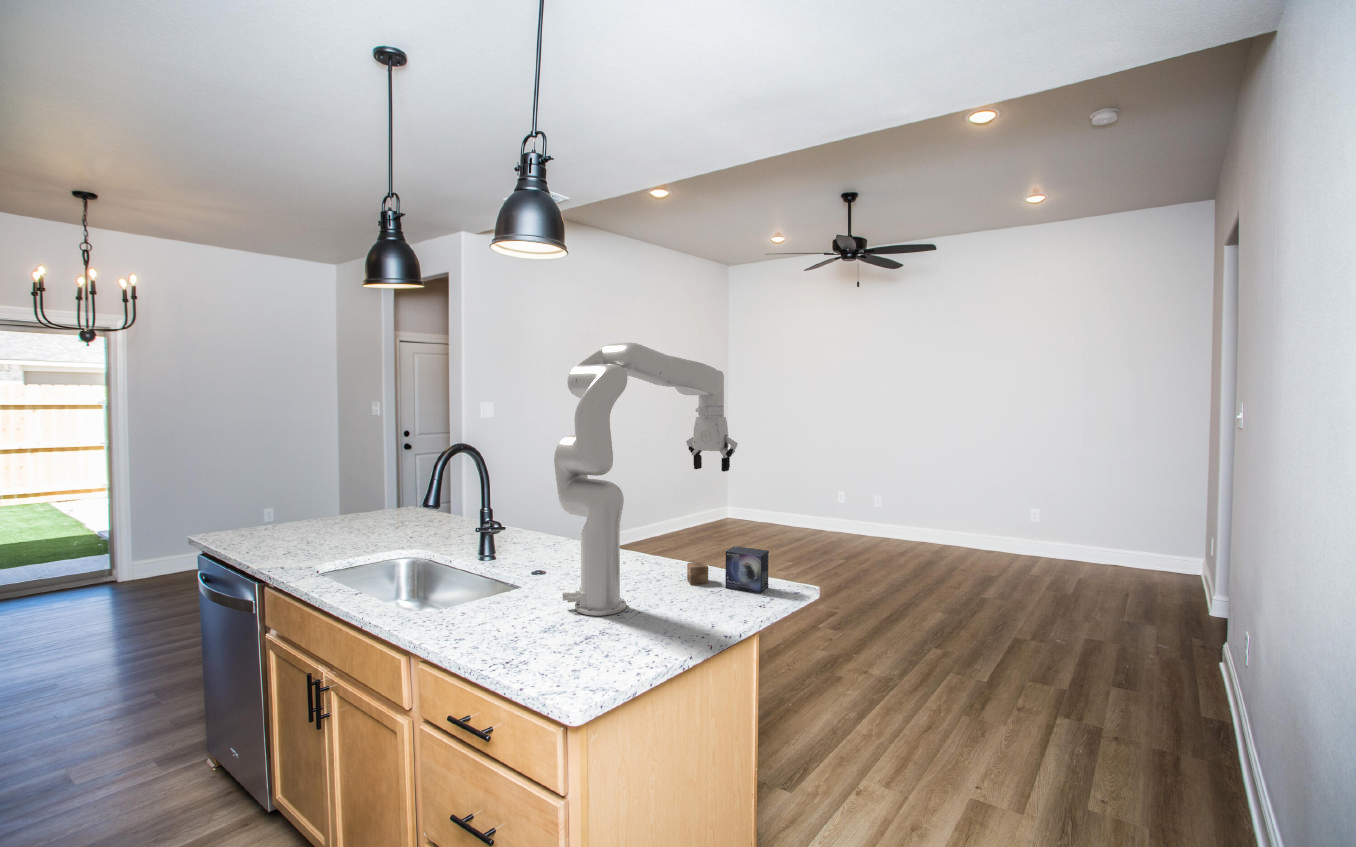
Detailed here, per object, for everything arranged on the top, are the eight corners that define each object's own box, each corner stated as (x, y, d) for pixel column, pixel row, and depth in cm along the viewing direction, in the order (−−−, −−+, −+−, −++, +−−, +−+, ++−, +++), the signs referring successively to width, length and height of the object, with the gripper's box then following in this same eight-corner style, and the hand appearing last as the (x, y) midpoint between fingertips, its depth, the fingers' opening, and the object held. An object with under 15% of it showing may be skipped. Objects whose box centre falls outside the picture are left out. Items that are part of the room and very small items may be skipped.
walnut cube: (690, 585, 181) (690, 567, 181) (687, 580, 186) (687, 562, 186) (708, 584, 182) (708, 566, 182) (704, 579, 187) (704, 562, 187)
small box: (724, 588, 178) (724, 550, 177) (733, 582, 183) (733, 545, 183) (760, 594, 173) (761, 555, 172) (769, 587, 178) (769, 549, 178)
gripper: (679, 412, 195) (680, 469, 196) (729, 413, 185) (729, 473, 186) (694, 411, 201) (694, 466, 202) (743, 412, 191) (743, 470, 192)
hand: (711, 469), depth 194 cm, fingers open, 9 cm apart
